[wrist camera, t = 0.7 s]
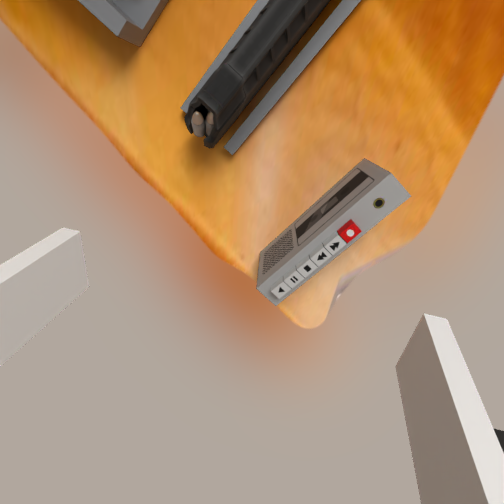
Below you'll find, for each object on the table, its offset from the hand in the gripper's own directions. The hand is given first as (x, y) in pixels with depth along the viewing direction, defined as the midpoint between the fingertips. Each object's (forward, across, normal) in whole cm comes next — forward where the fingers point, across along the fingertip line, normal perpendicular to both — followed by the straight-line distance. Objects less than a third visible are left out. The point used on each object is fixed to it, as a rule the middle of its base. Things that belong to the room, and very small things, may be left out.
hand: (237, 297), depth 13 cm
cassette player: (+26, +3, -7) cm, 27 cm away
